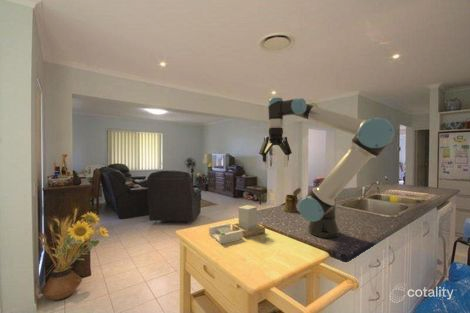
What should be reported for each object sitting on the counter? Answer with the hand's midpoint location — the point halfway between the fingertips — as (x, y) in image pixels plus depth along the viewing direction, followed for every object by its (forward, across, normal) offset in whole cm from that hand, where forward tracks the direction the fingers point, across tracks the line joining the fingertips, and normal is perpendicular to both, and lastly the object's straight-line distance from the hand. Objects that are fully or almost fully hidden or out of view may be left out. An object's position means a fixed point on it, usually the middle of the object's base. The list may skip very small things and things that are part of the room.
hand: (276, 167), depth 120 cm
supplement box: (+34, +13, -8) cm, 37 cm away
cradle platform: (+33, +27, -8) cm, 43 cm away
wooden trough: (+35, +13, -8) cm, 38 cm away
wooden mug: (+35, -35, -25) cm, 55 cm away
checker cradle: (+35, +27, -8) cm, 45 cm away
